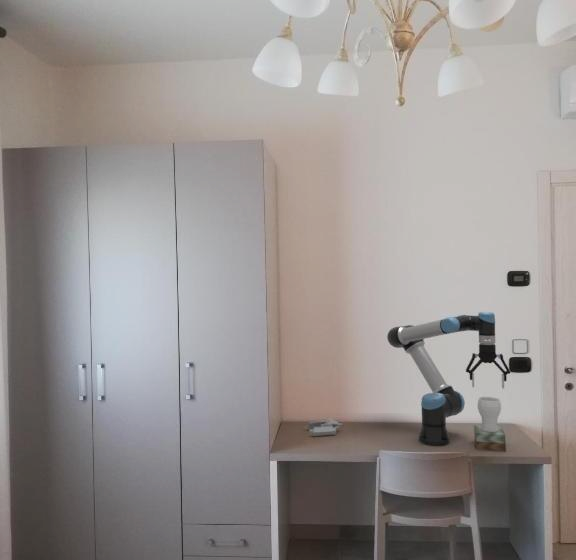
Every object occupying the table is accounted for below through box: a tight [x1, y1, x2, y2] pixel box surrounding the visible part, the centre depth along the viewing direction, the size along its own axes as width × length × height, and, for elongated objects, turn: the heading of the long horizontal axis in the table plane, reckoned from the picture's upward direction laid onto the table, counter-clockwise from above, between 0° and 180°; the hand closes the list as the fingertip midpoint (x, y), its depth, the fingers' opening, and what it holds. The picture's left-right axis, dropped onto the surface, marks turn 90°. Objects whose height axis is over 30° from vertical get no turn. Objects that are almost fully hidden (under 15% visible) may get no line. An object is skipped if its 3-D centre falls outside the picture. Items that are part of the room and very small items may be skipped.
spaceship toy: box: [304, 418, 343, 437], centre depth 275 cm, size 14×20×6 cm
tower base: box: [473, 424, 507, 453], centre depth 246 cm, size 13×13×8 cm
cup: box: [477, 396, 502, 432], centre depth 246 cm, size 11×11×15 cm
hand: (488, 387), depth 247 cm, fingers open, 13 cm apart
